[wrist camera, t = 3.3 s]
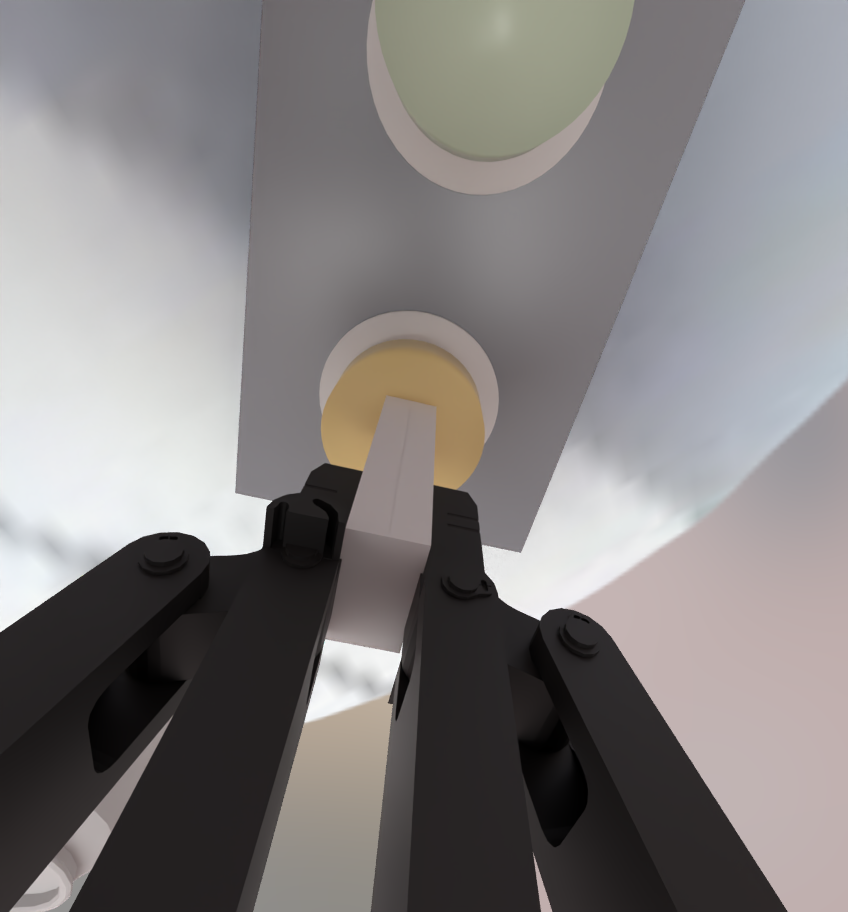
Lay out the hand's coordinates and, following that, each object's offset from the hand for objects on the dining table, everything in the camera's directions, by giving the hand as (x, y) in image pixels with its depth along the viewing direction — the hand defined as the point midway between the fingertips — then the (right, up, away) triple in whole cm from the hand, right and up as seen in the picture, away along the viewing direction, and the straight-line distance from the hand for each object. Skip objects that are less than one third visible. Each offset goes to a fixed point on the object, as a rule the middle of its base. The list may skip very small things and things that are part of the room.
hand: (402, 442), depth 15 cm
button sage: (+2, +9, -3) cm, 10 cm away
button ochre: (0, +1, +2) cm, 2 cm away
